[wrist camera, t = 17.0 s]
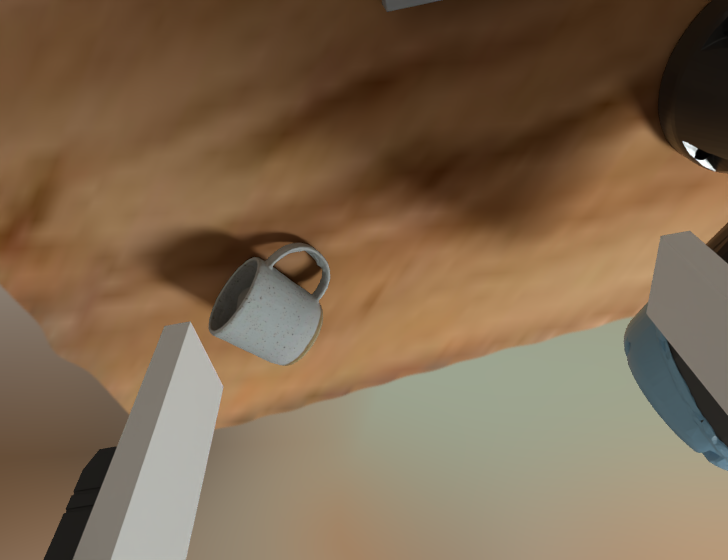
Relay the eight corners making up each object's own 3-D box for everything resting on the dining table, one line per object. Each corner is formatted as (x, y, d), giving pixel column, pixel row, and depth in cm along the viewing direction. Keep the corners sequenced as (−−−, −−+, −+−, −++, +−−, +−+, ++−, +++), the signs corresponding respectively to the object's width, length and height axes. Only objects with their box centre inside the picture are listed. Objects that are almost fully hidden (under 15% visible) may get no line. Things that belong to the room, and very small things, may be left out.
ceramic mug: (283, 334, 53) (278, 389, 46) (214, 293, 49) (198, 348, 43) (350, 267, 48) (355, 318, 42) (280, 217, 45) (274, 265, 39)
